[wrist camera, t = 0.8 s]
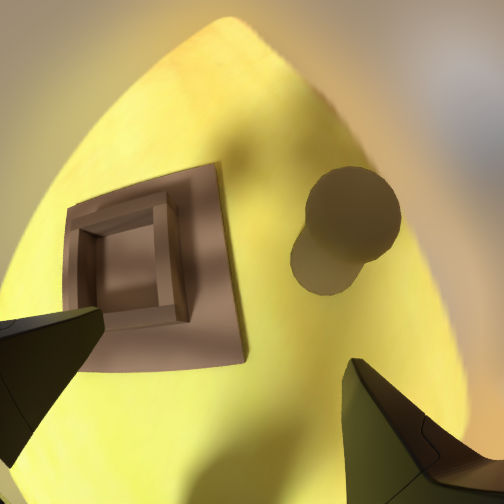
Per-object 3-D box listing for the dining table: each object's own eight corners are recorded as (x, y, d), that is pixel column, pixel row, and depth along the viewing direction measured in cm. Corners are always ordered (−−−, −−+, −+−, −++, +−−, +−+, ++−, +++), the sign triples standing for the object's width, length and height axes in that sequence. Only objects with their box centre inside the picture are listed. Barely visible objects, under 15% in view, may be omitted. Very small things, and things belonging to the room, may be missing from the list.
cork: (285, 230, 23) (289, 152, 13) (351, 222, 23) (395, 147, 12) (295, 300, 22) (312, 271, 11) (365, 290, 21) (431, 253, 11)
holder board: (245, 361, 20) (238, 368, 17) (75, 370, 21) (49, 372, 17) (216, 169, 26) (206, 144, 22) (72, 211, 26) (52, 197, 23)
